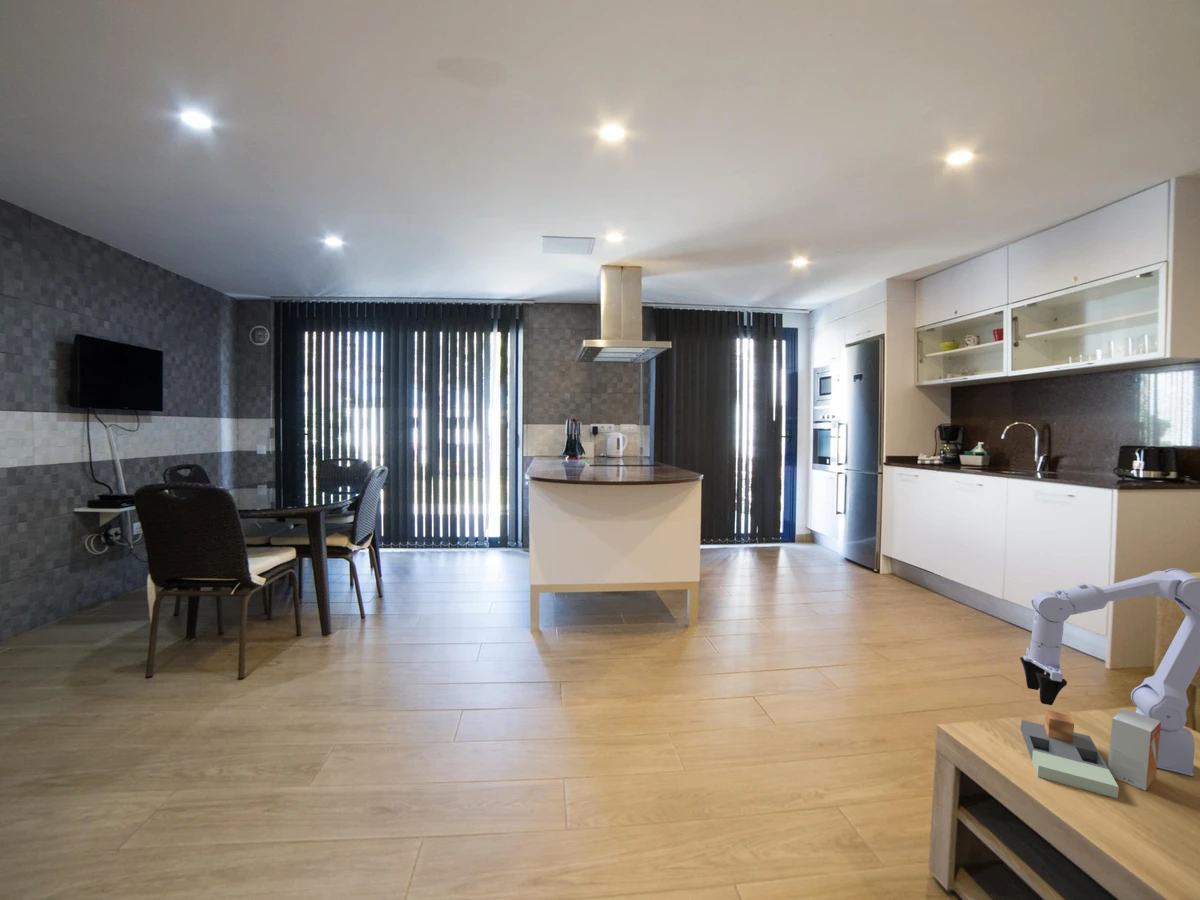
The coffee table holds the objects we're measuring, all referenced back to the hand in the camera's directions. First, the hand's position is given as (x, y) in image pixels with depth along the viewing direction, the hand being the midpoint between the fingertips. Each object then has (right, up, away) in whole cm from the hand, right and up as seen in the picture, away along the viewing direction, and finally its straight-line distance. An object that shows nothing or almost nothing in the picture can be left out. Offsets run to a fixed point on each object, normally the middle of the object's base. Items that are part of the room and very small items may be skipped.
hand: (1039, 696), depth 134 cm
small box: (+8, -11, -15) cm, 20 cm away
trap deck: (-2, -10, -10) cm, 14 cm away
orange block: (+2, -8, -4) cm, 9 cm away
